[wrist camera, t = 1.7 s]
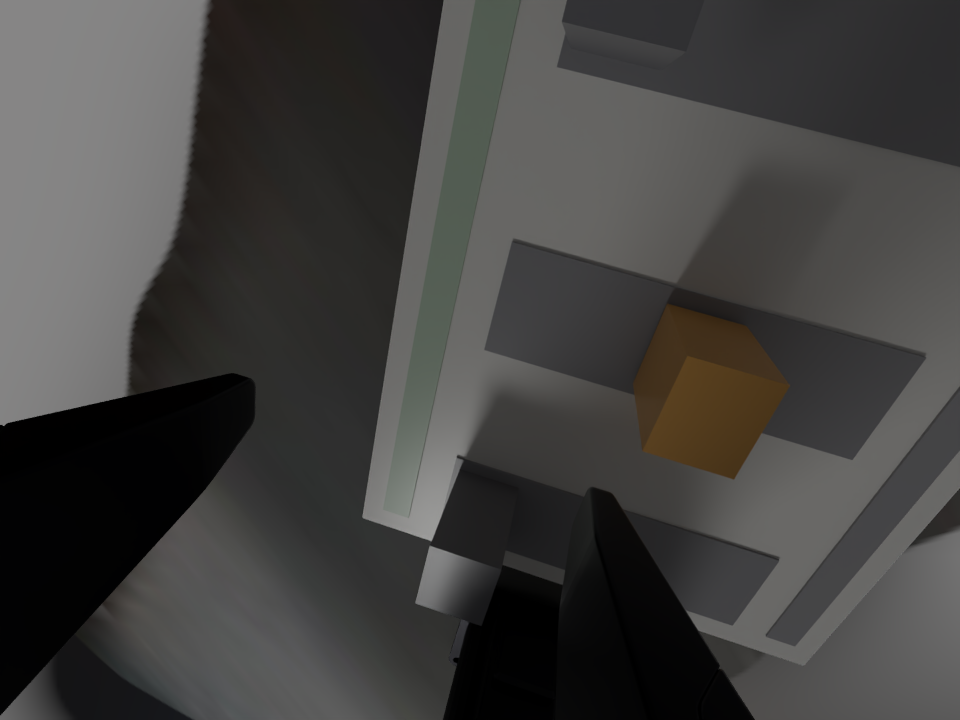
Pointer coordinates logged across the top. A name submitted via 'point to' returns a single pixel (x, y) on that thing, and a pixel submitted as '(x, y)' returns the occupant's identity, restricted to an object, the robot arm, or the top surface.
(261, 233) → the top surface
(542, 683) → the robot arm
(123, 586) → the top surface
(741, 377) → the orange block
